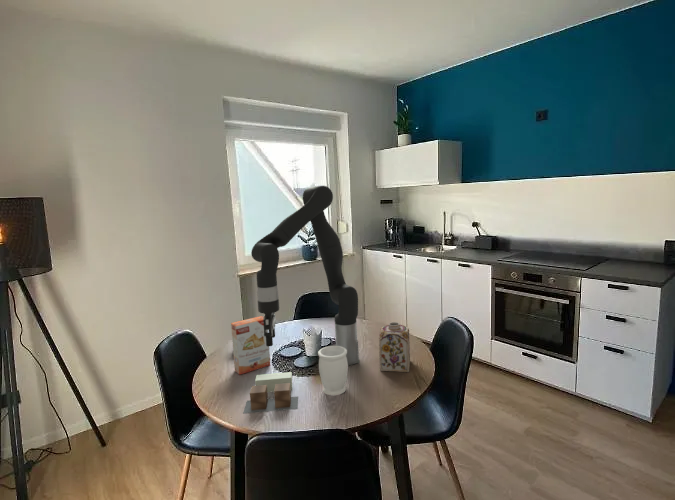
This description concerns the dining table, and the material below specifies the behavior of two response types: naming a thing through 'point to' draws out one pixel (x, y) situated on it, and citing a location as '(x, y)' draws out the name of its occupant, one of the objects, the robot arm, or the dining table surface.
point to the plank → (274, 380)
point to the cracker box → (249, 345)
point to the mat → (271, 406)
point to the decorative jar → (394, 348)
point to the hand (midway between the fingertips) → (271, 341)
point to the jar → (333, 369)
